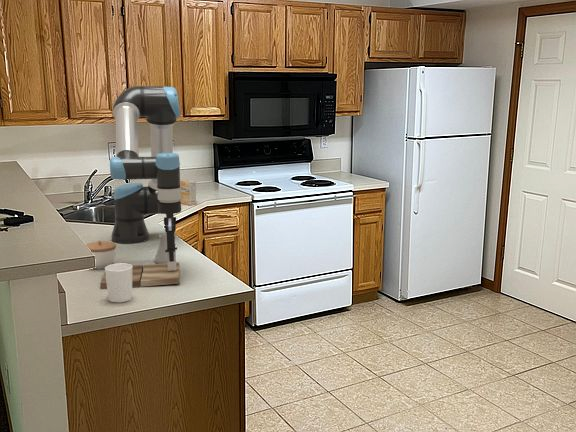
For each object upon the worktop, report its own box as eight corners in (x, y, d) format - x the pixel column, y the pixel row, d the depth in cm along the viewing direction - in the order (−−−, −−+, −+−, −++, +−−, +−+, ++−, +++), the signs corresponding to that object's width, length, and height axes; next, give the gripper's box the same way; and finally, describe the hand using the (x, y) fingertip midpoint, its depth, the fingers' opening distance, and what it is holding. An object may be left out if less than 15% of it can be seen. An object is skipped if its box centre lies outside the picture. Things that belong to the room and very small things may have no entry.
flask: (165, 257, 219) (165, 232, 217) (178, 261, 215) (177, 235, 213) (150, 261, 214) (149, 235, 212) (163, 265, 209) (162, 238, 207)
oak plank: (144, 269, 204) (144, 264, 203) (179, 267, 206) (179, 262, 205) (141, 286, 186) (140, 281, 186) (179, 283, 188) (178, 278, 188)
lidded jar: (115, 260, 215) (114, 236, 213) (118, 269, 205) (117, 243, 203) (84, 263, 211) (83, 238, 209) (86, 272, 201) (84, 245, 199)
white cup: (101, 298, 176) (100, 266, 174) (125, 292, 181) (124, 261, 179) (114, 305, 170) (113, 272, 168) (138, 299, 176) (137, 267, 174)
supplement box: (180, 203, 323) (179, 180, 320) (186, 202, 327) (186, 179, 324) (190, 205, 318) (189, 182, 315) (196, 204, 322) (196, 181, 319)
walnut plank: (107, 271, 202) (107, 266, 201) (143, 270, 204) (143, 264, 203) (100, 288, 184) (100, 282, 184) (139, 287, 186) (139, 281, 186)
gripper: (158, 197, 197) (161, 264, 202) (156, 204, 184) (160, 276, 189) (180, 196, 198) (183, 263, 203) (180, 203, 185) (183, 275, 190)
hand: (172, 269), depth 196 cm, fingers closed
